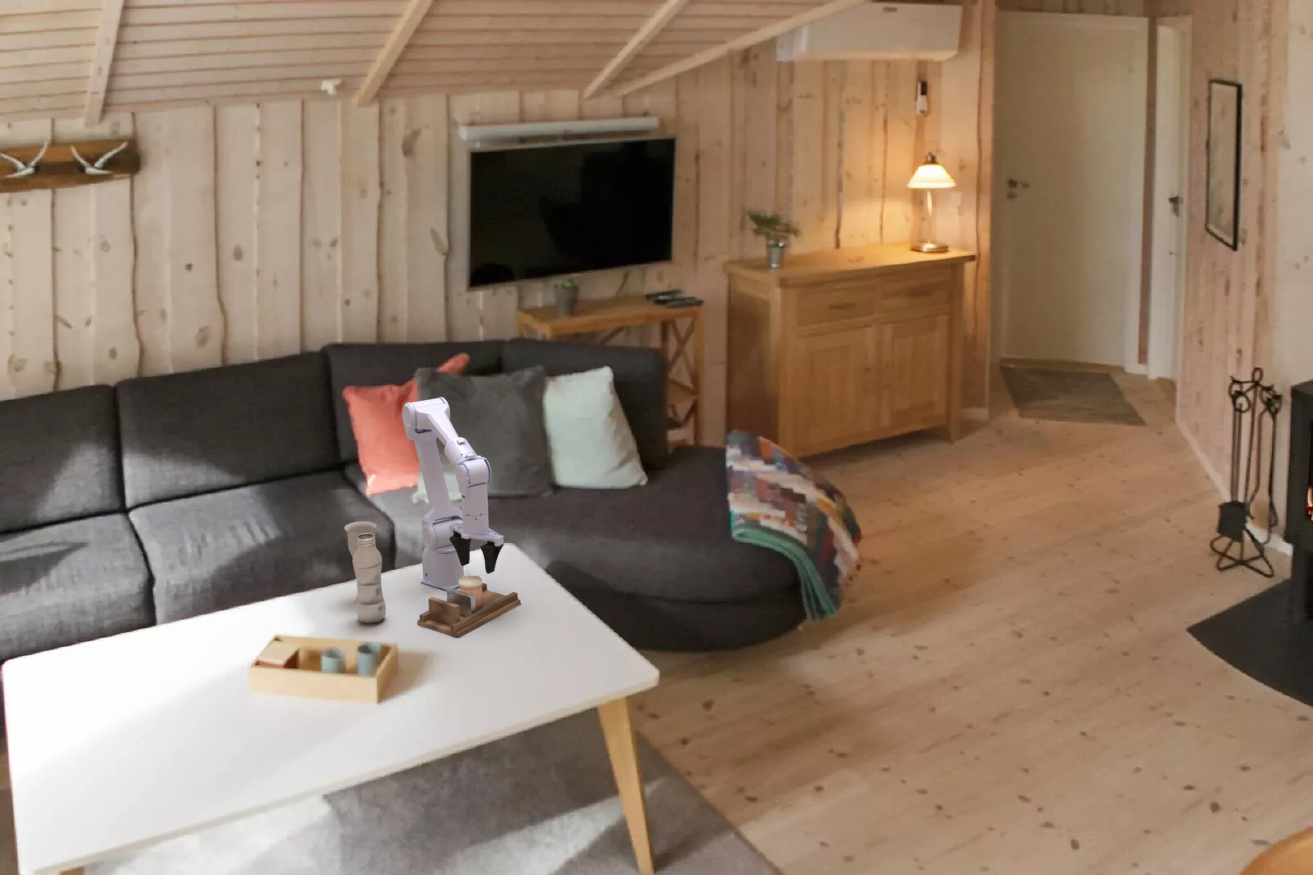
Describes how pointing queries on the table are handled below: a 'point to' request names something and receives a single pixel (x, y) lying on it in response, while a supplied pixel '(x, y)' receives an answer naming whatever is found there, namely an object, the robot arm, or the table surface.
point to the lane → (454, 624)
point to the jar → (472, 588)
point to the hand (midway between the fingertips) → (477, 568)
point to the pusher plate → (462, 601)
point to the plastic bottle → (368, 580)
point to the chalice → (355, 531)
